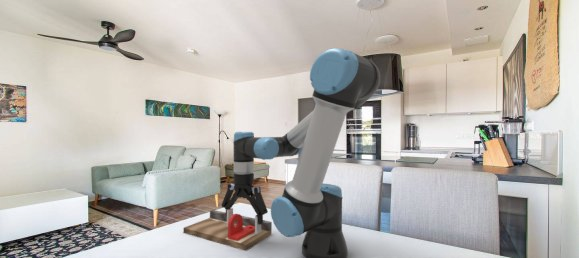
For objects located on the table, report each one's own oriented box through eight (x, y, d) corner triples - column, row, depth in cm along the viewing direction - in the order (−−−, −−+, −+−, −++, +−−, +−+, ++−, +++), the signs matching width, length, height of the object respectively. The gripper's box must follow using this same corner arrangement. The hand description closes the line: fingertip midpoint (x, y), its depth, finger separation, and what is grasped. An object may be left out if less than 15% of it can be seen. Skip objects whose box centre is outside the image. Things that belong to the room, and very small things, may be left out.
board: (271, 234, 103) (271, 221, 103) (245, 250, 89) (246, 236, 89) (213, 220, 119) (213, 209, 119) (183, 232, 105) (183, 220, 105)
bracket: (237, 241, 92) (237, 218, 92) (227, 238, 94) (228, 216, 94) (258, 230, 102) (258, 209, 102) (249, 227, 104) (249, 208, 104)
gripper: (277, 173, 95) (276, 232, 94) (225, 168, 107) (225, 220, 106) (265, 176, 88) (265, 239, 88) (212, 171, 100) (212, 226, 100)
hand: (243, 229), depth 97 cm, fingers open, 13 cm apart
